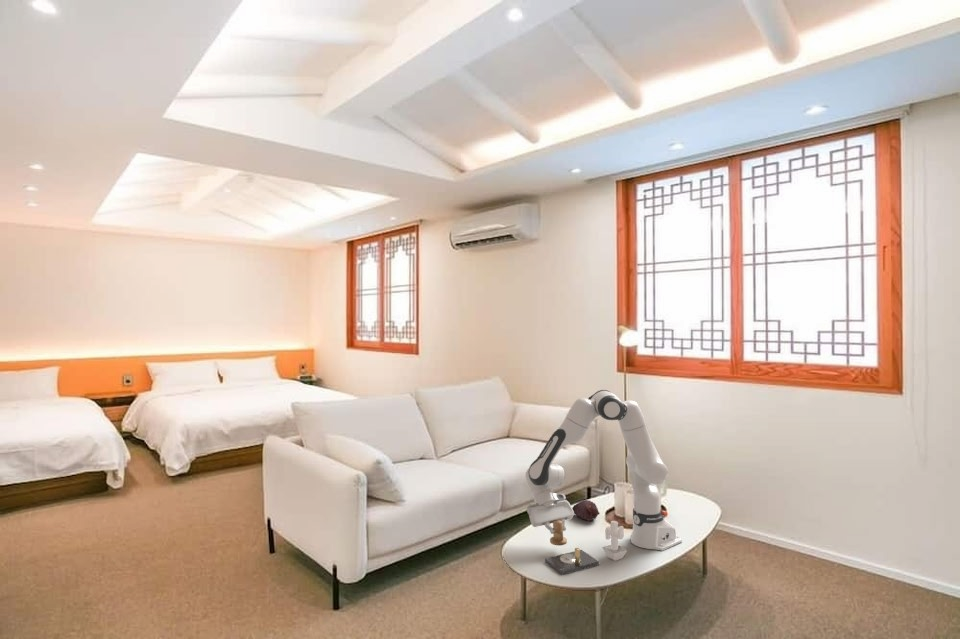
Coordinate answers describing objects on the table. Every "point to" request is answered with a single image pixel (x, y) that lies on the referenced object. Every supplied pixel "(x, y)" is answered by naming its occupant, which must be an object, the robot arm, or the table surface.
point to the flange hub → (558, 534)
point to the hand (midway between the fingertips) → (558, 531)
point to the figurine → (614, 541)
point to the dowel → (577, 556)
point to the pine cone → (586, 510)
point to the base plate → (571, 562)
